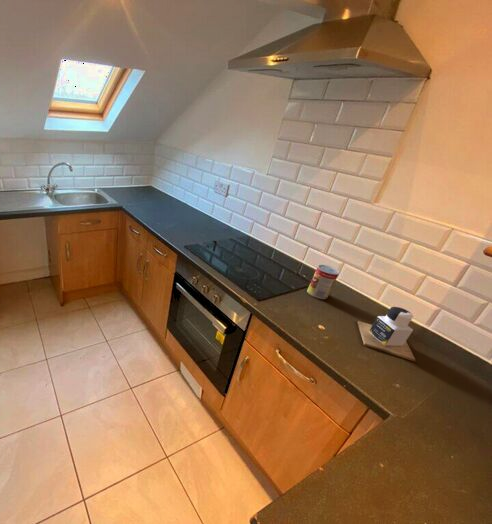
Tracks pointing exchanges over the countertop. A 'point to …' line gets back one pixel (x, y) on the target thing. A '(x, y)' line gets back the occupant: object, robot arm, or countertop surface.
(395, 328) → the medicine bottle
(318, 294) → the canned food
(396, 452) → the countertop surface
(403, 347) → the cork mat
